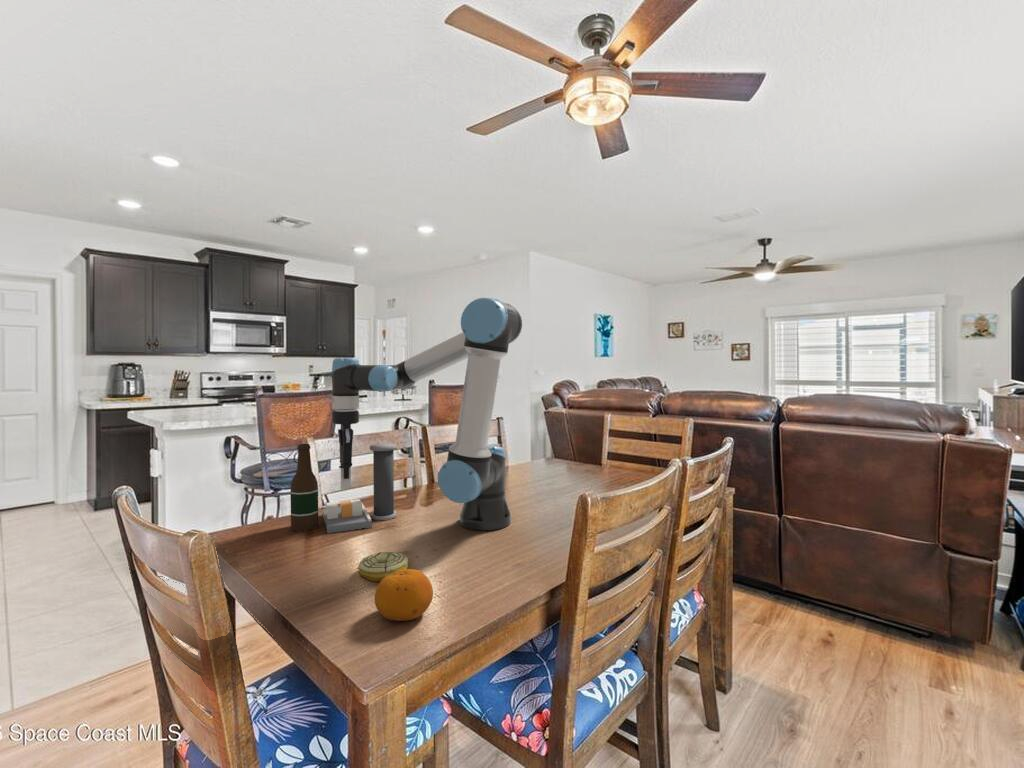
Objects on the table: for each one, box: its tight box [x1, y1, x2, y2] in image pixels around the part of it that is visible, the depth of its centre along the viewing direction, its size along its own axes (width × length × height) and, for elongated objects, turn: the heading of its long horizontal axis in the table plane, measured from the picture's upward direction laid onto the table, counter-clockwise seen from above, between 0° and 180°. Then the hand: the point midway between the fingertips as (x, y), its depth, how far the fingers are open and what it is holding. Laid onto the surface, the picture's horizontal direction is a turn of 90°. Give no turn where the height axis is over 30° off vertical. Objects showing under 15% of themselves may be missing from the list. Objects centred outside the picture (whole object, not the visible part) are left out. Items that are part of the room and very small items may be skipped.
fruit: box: [374, 568, 434, 622], centre depth 90 cm, size 10×10×8 cm
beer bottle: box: [290, 443, 319, 532], centre depth 138 cm, size 8×8×24 cm
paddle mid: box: [339, 499, 352, 518], centre depth 144 cm, size 5×3×4 cm, turn 25°
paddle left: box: [325, 501, 339, 519], centre depth 142 cm, size 5×3×4 cm, turn 25°
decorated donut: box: [357, 551, 409, 582], centre depth 109 cm, size 10×11×4 cm
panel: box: [322, 502, 373, 534], centre depth 144 cm, size 18×12×3 cm, turn 25°
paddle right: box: [350, 498, 363, 516], centre depth 145 cm, size 5×3×4 cm, turn 25°
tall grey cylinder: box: [369, 443, 398, 522], centre depth 149 cm, size 8×8×22 cm
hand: (345, 488), depth 144 cm, fingers closed
